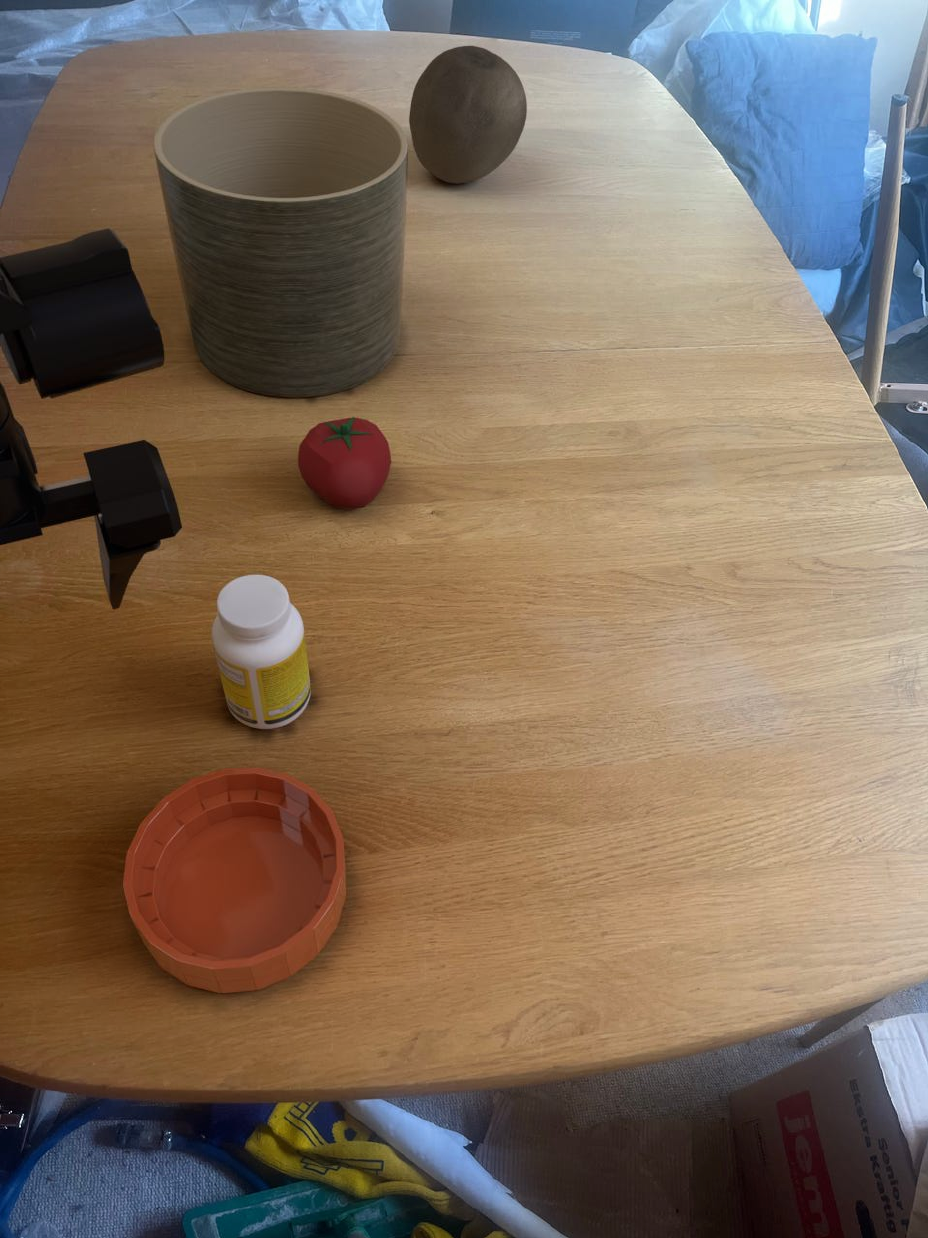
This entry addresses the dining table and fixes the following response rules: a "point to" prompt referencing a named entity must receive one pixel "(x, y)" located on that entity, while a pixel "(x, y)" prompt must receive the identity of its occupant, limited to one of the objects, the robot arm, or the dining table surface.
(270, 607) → the pill bottle
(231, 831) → the bowl
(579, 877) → the dining table surface
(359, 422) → the tomato
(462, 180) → the egg shaped brown fruit
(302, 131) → the planter
